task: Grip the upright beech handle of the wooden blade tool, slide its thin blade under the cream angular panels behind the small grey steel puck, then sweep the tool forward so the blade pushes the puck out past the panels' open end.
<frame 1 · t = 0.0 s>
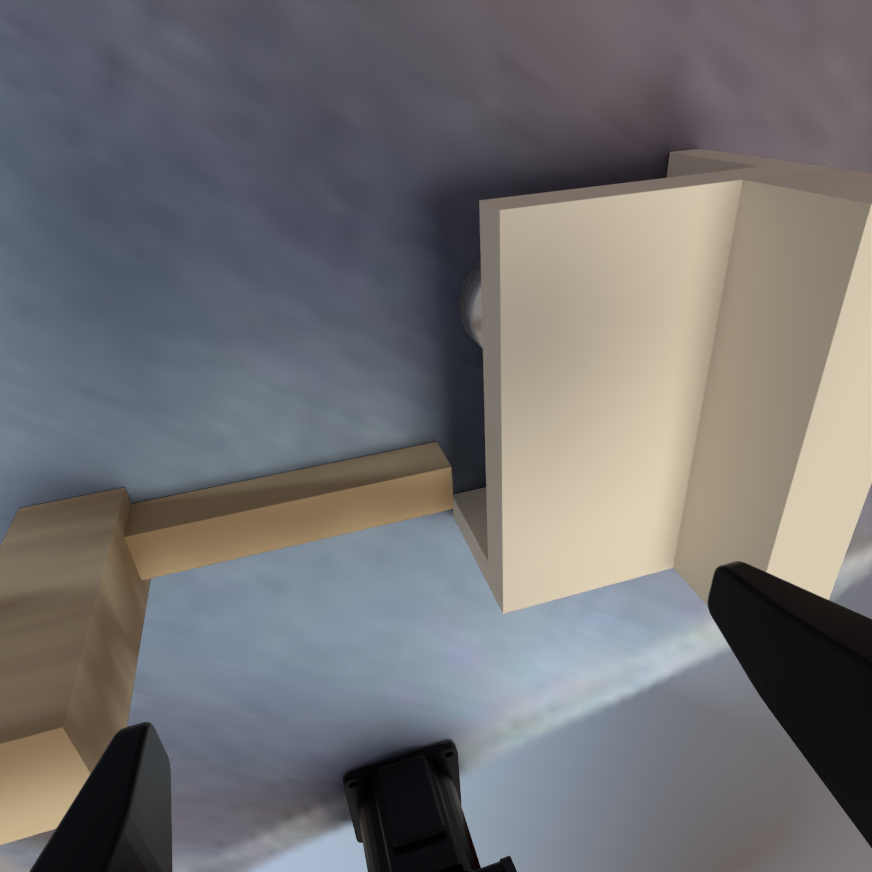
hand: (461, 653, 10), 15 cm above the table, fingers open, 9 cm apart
blade tool: (90, 535, 23), on the table
token: (508, 298, 23), on the table
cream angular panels: (563, 351, 25), on the table
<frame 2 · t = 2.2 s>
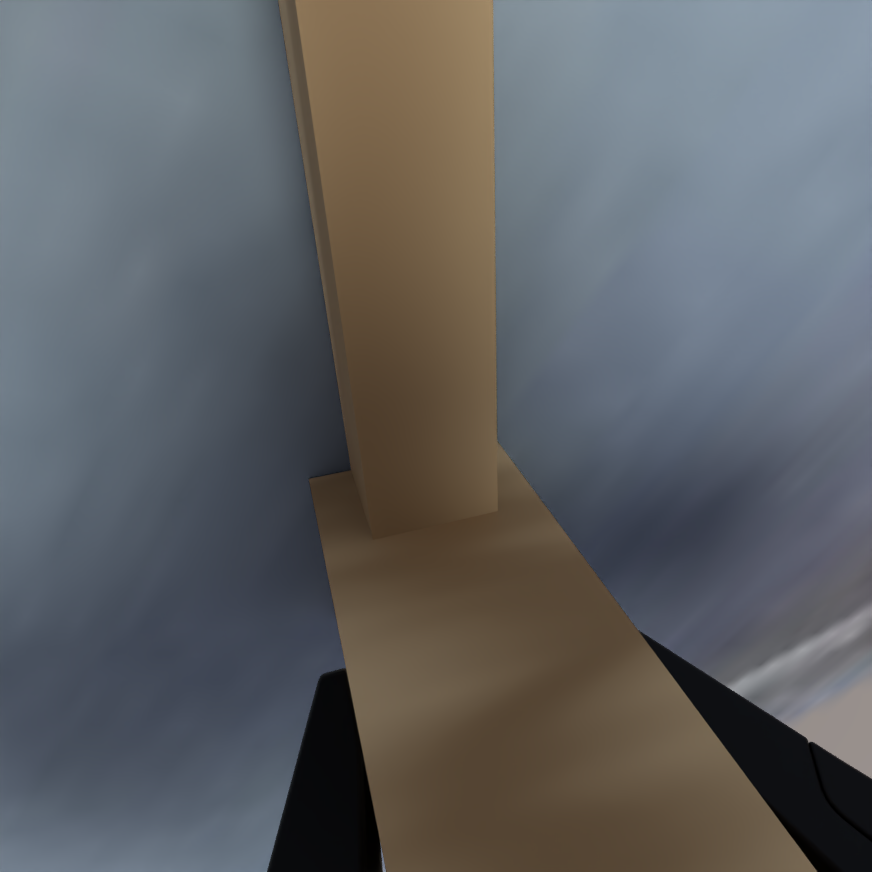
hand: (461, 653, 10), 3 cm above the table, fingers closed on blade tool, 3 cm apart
blade tool: (413, 534, 12), on the table, touching gripper
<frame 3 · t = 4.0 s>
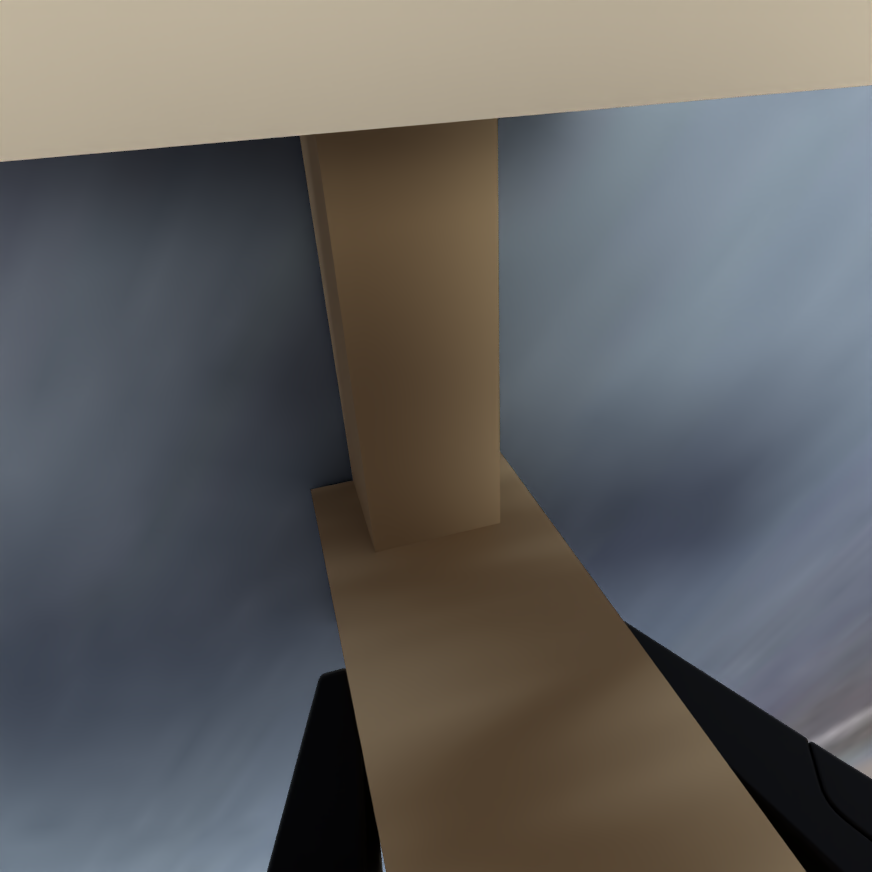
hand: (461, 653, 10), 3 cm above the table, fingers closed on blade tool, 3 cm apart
blade tool: (415, 543, 12), on the table, touching gripper
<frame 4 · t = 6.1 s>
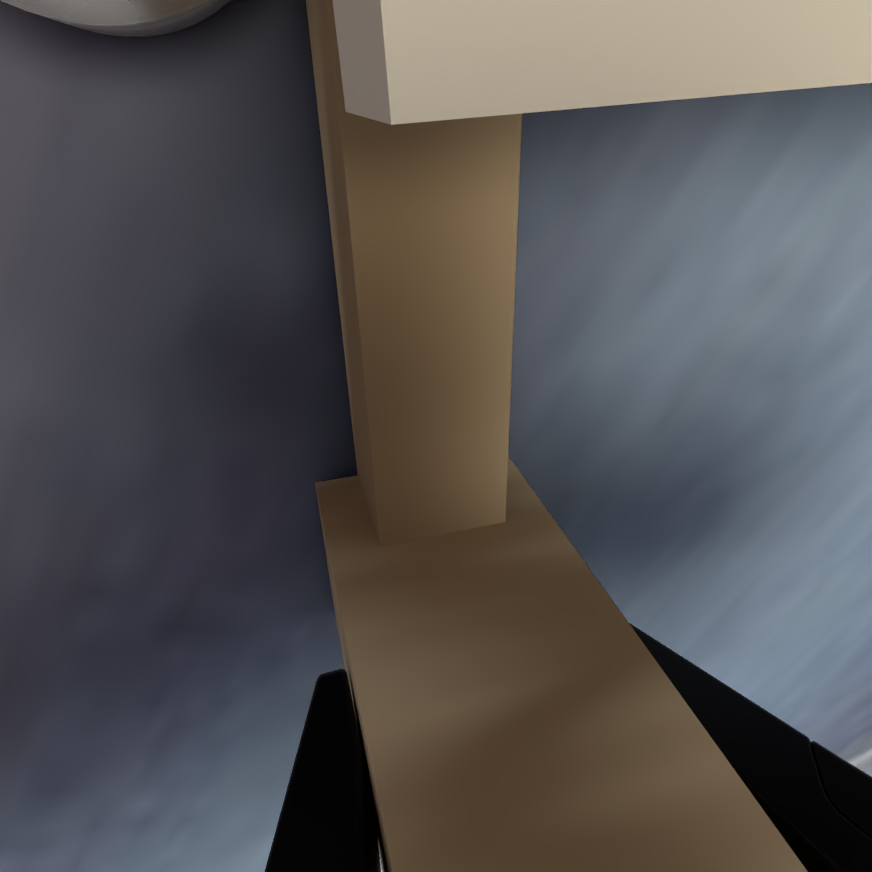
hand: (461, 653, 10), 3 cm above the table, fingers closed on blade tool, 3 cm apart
blade tool: (416, 540, 12), on the table, touching gripper
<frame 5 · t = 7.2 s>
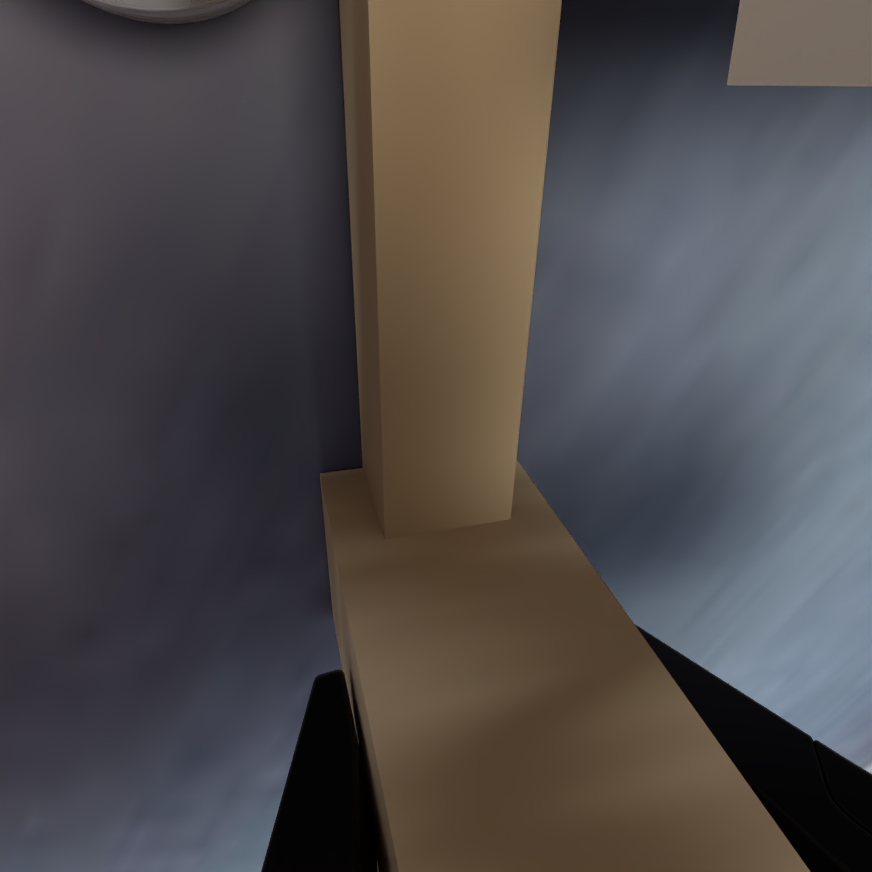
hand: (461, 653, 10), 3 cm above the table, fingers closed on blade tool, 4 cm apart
blade tool: (417, 536, 12), on the table, touching gripper
when the fingers open (3 cm above the table, at t = 8.2 s): blade tool stays where it is, on the table.
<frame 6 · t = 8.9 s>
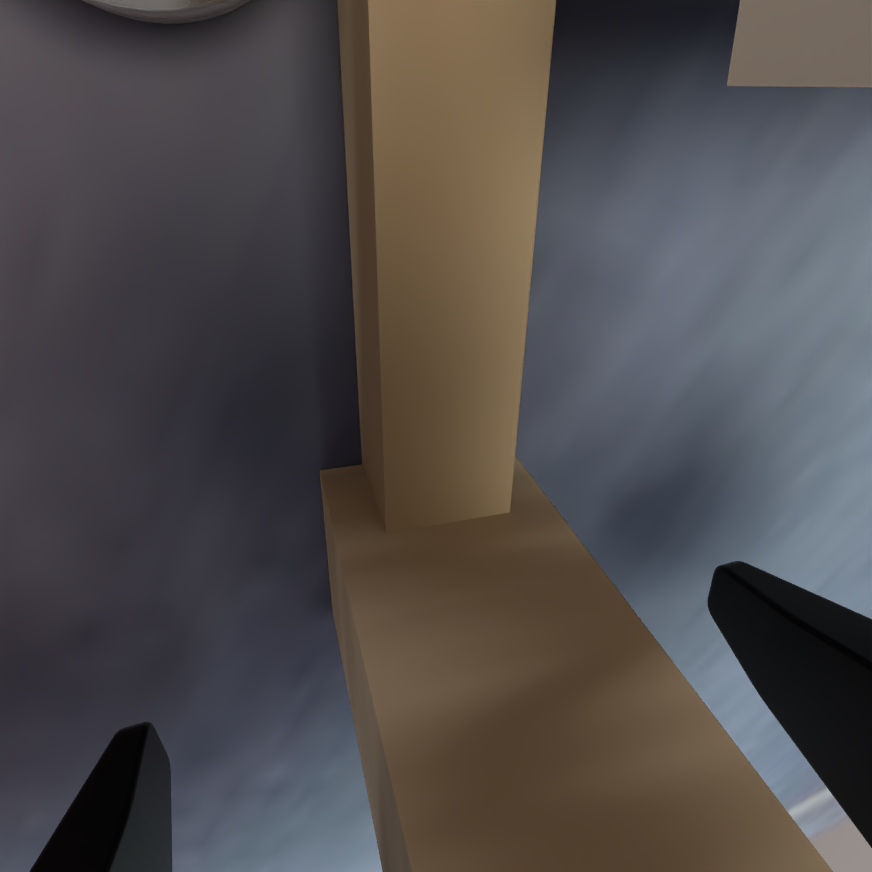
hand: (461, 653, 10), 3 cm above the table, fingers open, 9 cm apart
blade tool: (416, 533, 12), on the table
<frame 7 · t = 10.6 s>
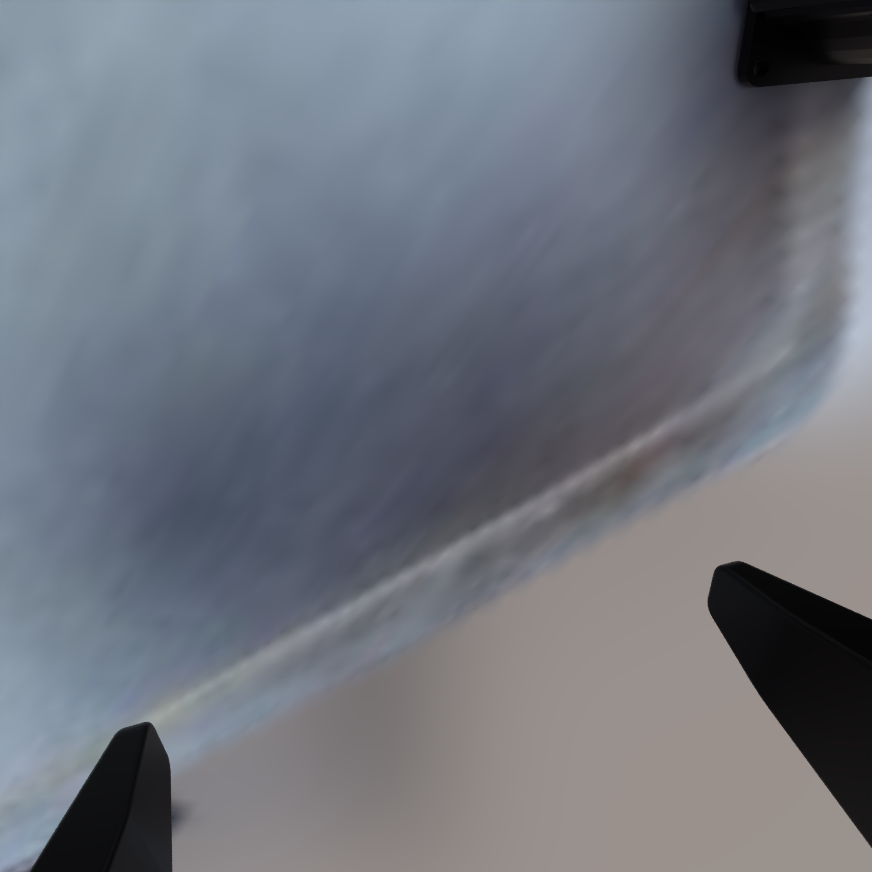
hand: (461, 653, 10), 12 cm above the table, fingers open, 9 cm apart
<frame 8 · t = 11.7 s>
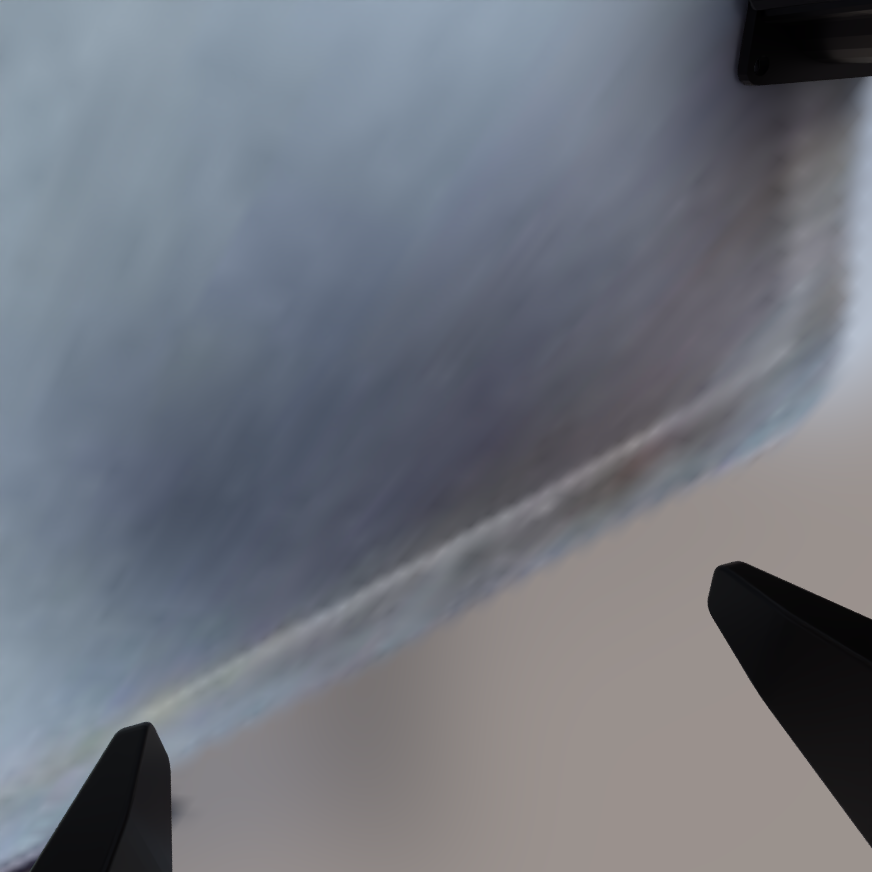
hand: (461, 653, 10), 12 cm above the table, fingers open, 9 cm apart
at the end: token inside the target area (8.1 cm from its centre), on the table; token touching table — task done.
